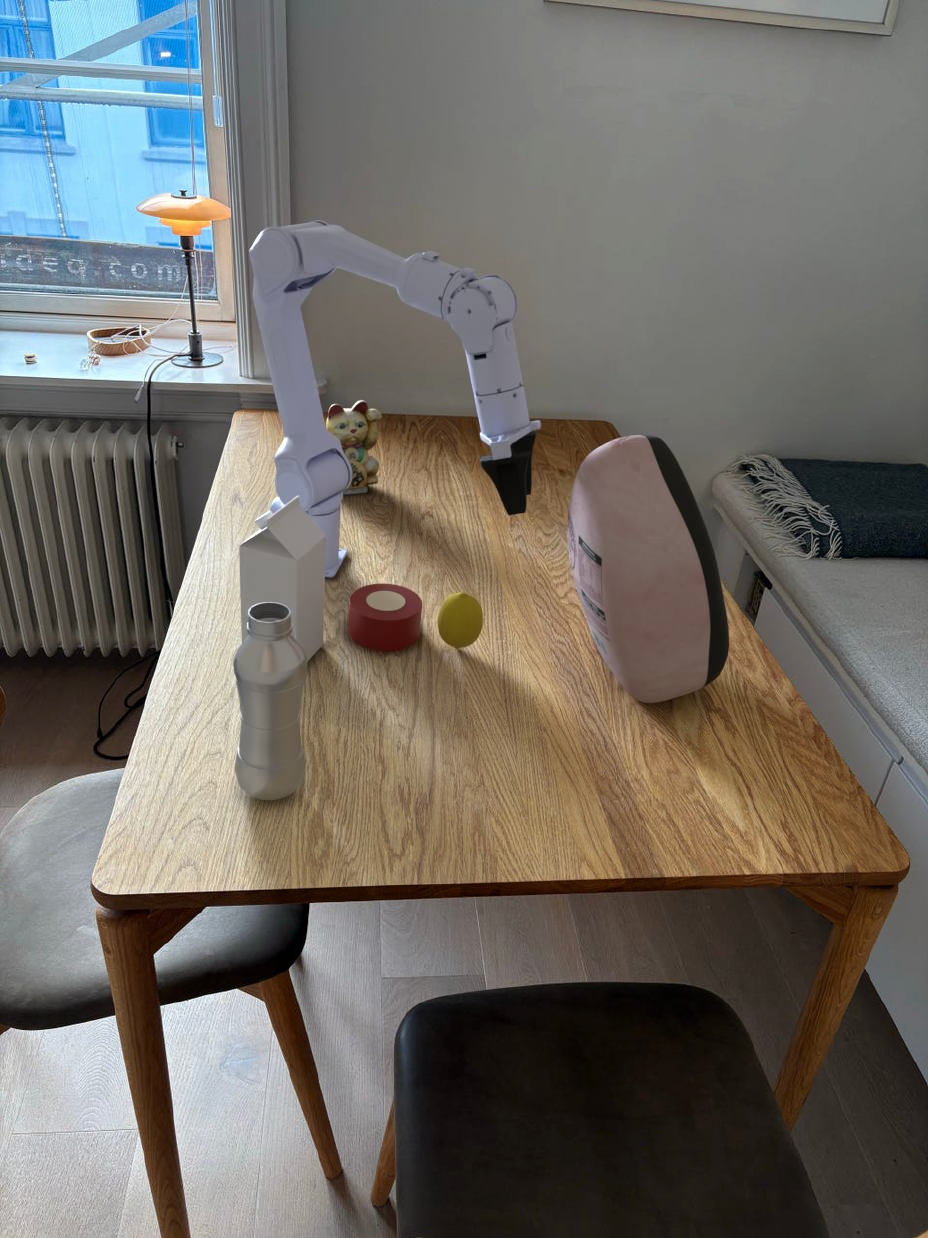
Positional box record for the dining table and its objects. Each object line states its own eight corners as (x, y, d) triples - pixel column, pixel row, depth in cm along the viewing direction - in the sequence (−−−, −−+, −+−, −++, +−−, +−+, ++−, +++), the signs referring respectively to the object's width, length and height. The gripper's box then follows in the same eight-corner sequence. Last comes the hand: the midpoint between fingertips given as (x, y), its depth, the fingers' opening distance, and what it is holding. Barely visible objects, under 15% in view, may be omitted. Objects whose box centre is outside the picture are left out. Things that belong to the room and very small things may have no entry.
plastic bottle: (239, 764, 95) (233, 592, 85) (307, 765, 96) (310, 595, 86) (231, 809, 90) (224, 630, 80) (303, 809, 91) (306, 633, 80)
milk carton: (323, 645, 115) (327, 502, 106) (296, 675, 109) (297, 526, 100) (271, 630, 117) (270, 488, 107) (241, 659, 111) (237, 511, 101)
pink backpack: (735, 724, 110) (809, 483, 94) (573, 728, 106) (621, 479, 90) (670, 623, 128) (722, 409, 113) (529, 624, 124) (563, 402, 109)
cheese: (339, 645, 116) (341, 612, 113) (357, 608, 123) (358, 577, 121) (412, 656, 115) (414, 624, 113) (425, 619, 123) (428, 588, 120)
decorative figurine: (329, 500, 151) (331, 408, 143) (309, 479, 157) (311, 391, 149) (384, 492, 155) (389, 403, 148) (363, 473, 161) (367, 387, 154)
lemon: (474, 664, 115) (482, 607, 111) (430, 655, 116) (435, 599, 112) (483, 641, 120) (490, 585, 116) (440, 632, 120) (445, 577, 116)
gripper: (528, 394, 100) (549, 516, 105) (537, 372, 113) (556, 482, 118) (463, 406, 102) (487, 526, 107) (480, 383, 115) (501, 491, 120)
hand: (520, 503), depth 113 cm, fingers open, 7 cm apart
